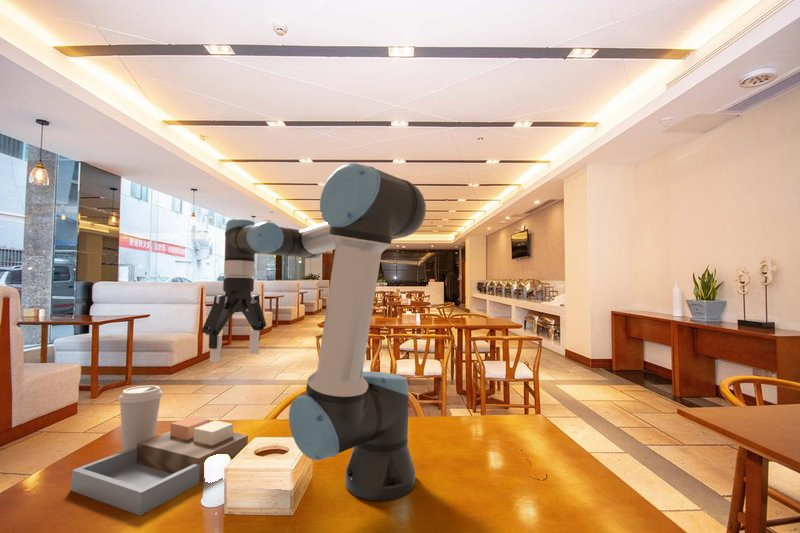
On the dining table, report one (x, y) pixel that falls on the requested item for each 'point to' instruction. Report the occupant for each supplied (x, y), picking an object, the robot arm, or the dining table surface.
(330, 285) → the robot arm
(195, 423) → the terracotta tile
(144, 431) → the coffee cup
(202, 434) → the cream tile
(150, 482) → the box
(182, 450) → the dark brown wooden slab
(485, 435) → the dining table surface
